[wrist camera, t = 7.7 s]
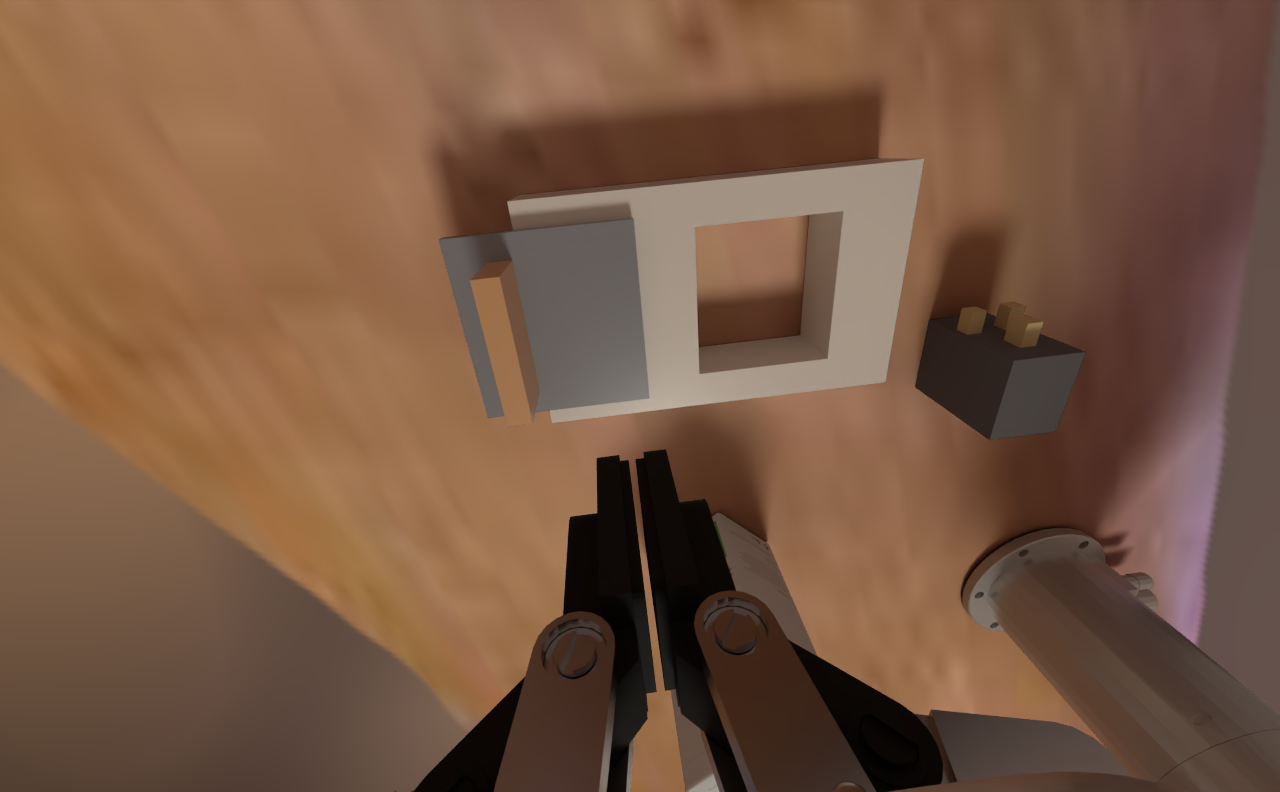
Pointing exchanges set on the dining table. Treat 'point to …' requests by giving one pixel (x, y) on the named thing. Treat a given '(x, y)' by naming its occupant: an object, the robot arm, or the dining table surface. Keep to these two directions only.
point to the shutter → (551, 316)
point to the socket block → (833, 285)
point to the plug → (998, 371)
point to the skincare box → (765, 581)
